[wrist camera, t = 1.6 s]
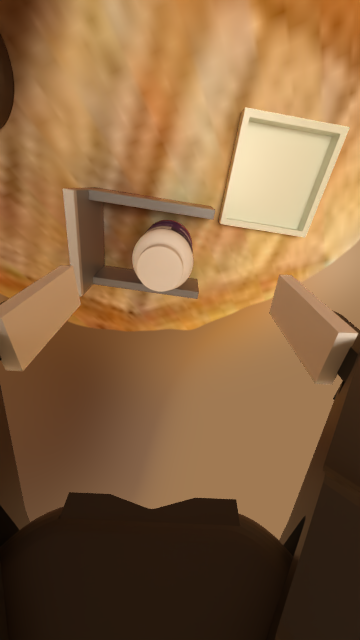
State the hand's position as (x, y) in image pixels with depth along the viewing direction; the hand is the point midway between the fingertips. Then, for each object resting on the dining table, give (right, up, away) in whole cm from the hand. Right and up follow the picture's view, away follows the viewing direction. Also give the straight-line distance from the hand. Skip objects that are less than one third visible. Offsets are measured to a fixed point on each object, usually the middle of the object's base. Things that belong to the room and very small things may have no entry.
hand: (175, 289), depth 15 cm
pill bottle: (-2, +11, +25) cm, 27 cm away
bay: (-5, +12, +24) cm, 27 cm away
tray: (+14, +19, +19) cm, 31 cm away
